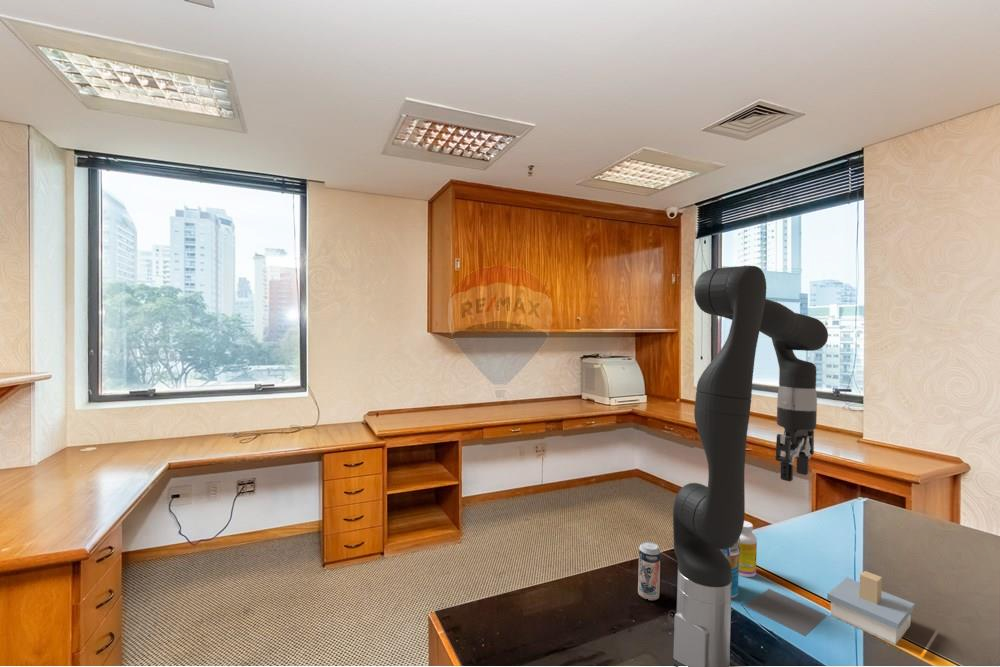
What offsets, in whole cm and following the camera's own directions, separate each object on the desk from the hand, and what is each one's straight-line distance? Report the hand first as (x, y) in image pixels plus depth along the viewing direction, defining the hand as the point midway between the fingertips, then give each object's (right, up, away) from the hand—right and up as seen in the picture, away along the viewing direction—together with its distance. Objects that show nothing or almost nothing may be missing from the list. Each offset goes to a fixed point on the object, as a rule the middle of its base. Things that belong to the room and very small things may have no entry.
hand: (794, 477), depth 101 cm
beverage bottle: (-14, -30, +7) cm, 34 cm away
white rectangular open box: (+14, -30, -4) cm, 34 cm away
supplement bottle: (-4, -30, +15) cm, 34 cm away
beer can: (-32, -30, +3) cm, 44 cm away
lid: (+14, -26, -4) cm, 30 cm away
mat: (-3, -30, -2) cm, 30 cm away
